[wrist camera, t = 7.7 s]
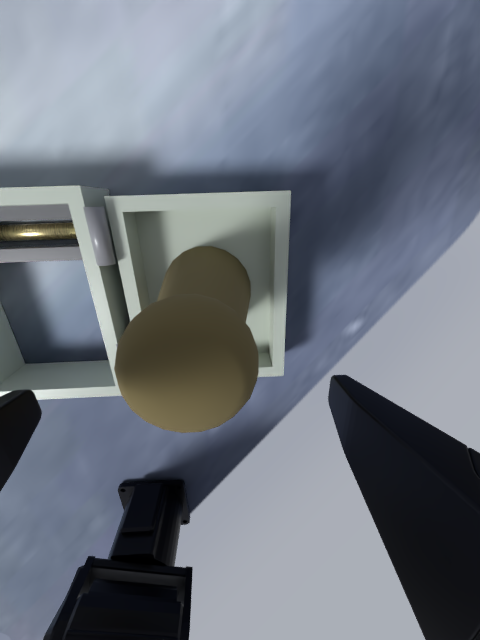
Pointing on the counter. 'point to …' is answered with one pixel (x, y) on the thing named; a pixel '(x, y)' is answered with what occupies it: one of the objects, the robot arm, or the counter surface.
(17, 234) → the rod
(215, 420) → the cork
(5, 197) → the case
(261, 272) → the lid
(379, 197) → the counter surface
